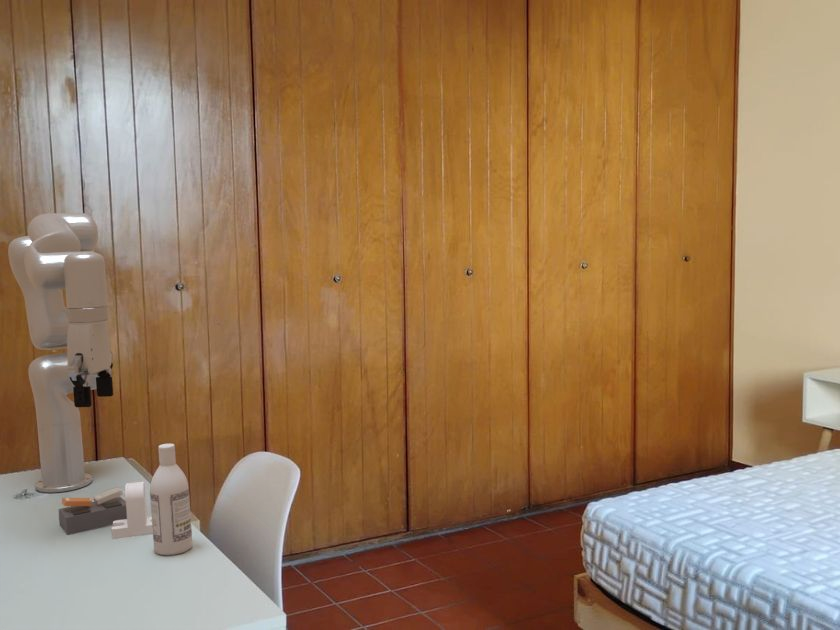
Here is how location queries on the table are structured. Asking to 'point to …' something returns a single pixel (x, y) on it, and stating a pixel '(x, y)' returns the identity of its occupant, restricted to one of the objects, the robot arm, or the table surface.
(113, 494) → the rocker grey
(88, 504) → the rocker orange
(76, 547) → the table surface
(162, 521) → the bath foam
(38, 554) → the table surface
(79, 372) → the robot arm
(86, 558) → the table surface
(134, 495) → the cable organizer
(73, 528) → the rocker switch box
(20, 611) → the table surface
